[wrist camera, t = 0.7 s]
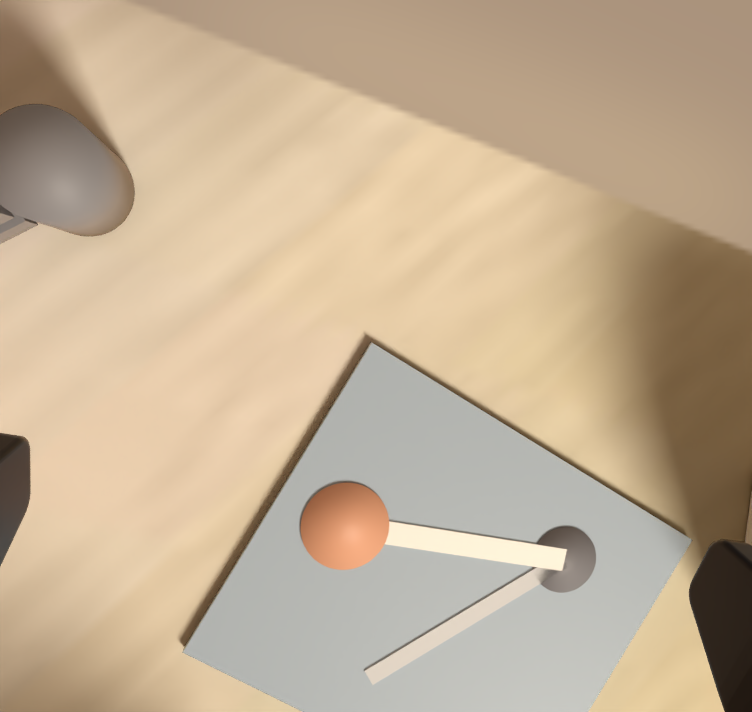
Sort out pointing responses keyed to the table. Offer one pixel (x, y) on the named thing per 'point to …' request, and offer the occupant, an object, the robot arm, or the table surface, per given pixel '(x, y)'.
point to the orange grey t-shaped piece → (58, 175)
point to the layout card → (434, 565)
